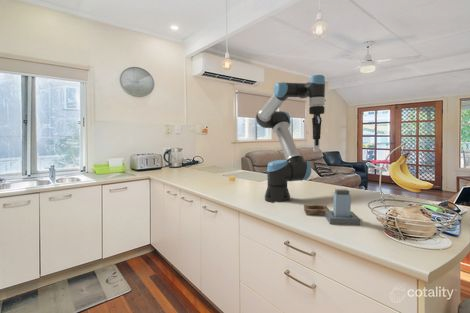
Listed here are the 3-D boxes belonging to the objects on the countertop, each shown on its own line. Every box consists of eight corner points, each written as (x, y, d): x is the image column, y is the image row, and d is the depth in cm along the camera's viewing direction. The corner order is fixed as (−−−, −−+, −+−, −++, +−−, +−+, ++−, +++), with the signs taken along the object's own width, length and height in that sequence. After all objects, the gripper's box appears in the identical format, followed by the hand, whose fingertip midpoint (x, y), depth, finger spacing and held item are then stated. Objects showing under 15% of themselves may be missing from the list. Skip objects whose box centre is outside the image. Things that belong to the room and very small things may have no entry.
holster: (306, 216, 115) (306, 210, 115) (304, 210, 123) (304, 204, 123) (329, 216, 114) (329, 210, 113) (325, 211, 122) (325, 205, 122)
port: (330, 225, 103) (330, 217, 103) (325, 217, 113) (325, 210, 113) (360, 226, 101) (360, 218, 101) (352, 217, 111) (352, 210, 111)
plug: (335, 221, 106) (336, 191, 104) (333, 218, 110) (333, 189, 108) (350, 222, 105) (350, 191, 104) (347, 219, 109) (347, 189, 108)
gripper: (327, 104, 119) (326, 152, 121) (321, 107, 132) (321, 150, 134) (311, 105, 120) (310, 152, 122) (307, 107, 133) (307, 150, 135)
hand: (316, 151), depth 128 cm, fingers closed
